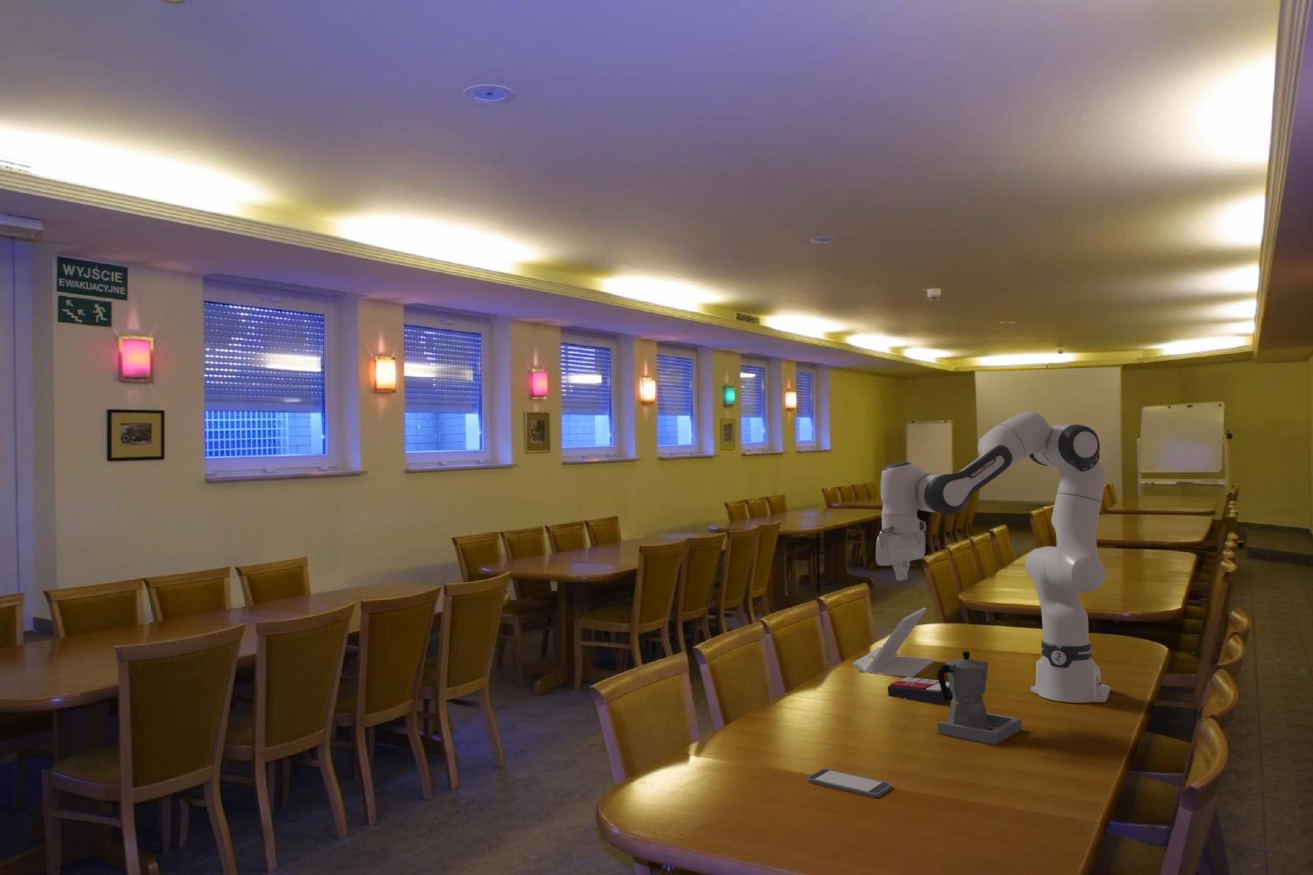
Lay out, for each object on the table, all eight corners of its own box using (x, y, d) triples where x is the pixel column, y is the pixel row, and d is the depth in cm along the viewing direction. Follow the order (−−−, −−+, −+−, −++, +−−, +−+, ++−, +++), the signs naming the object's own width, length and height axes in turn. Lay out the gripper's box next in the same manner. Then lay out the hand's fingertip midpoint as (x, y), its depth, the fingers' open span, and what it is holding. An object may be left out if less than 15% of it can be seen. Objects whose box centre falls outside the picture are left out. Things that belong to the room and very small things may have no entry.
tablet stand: (935, 661, 283) (933, 607, 283) (912, 678, 261) (911, 619, 262) (878, 656, 292) (877, 603, 293) (852, 672, 271) (851, 615, 271)
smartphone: (876, 794, 169) (806, 778, 178) (876, 800, 169) (806, 783, 178) (893, 783, 175) (824, 768, 184) (893, 788, 175) (824, 773, 184)
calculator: (905, 675, 250) (957, 680, 240) (907, 691, 250) (959, 697, 240) (886, 683, 242) (939, 689, 232) (887, 699, 242) (941, 705, 232)
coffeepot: (974, 719, 218) (972, 644, 219) (1004, 729, 210) (1002, 651, 210) (925, 728, 212) (923, 651, 212) (954, 739, 203) (952, 659, 204)
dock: (965, 719, 219) (965, 708, 219) (1021, 729, 210) (1021, 718, 210) (938, 733, 208) (937, 722, 208) (996, 745, 199) (995, 733, 199)
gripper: (891, 529, 222) (893, 585, 221) (928, 523, 237) (931, 575, 236) (868, 528, 226) (870, 583, 225) (906, 522, 241) (908, 574, 241)
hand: (901, 579), depth 231 cm, fingers closed
